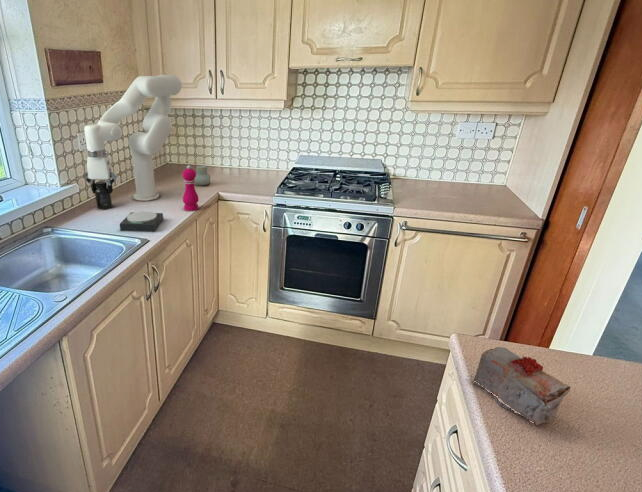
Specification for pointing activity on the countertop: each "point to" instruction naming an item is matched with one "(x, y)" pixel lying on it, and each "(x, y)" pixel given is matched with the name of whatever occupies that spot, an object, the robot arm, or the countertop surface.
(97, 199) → the supplement bottle
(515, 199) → the countertop surface
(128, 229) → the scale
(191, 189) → the pepper mill
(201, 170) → the air freshener
